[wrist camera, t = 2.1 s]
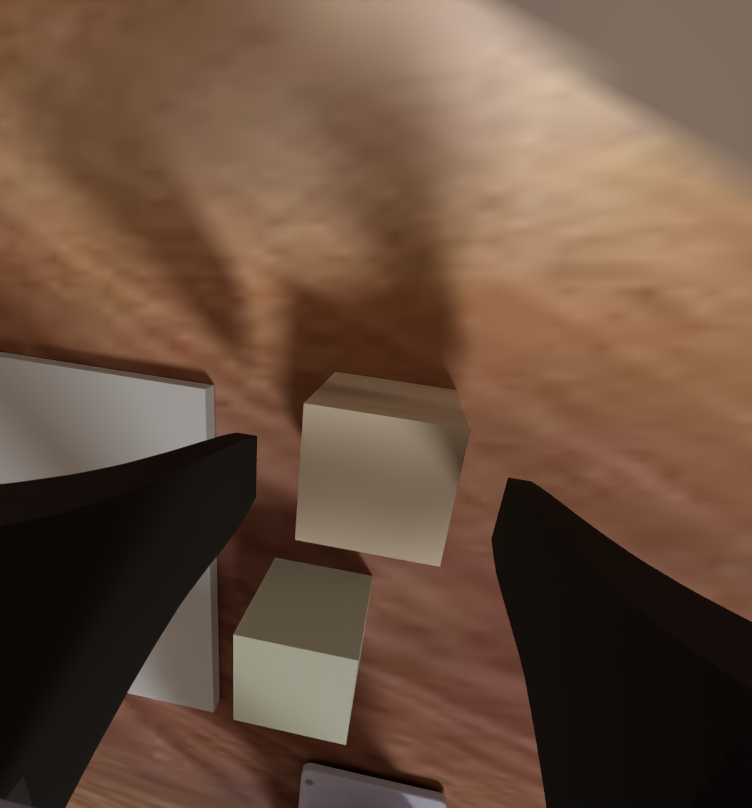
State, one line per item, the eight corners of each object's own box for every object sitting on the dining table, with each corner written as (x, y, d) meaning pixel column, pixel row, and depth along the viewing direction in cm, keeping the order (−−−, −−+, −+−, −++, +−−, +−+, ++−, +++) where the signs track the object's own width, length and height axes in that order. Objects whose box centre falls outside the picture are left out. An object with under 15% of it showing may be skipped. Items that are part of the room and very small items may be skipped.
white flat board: (219, 700, 20) (212, 714, 19) (19, 655, 21) (5, 667, 20) (213, 385, 14) (203, 390, 14) (-62, 341, 15) (-84, 344, 15)
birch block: (434, 495, 15) (439, 566, 11) (326, 476, 15) (295, 539, 11) (456, 389, 13) (470, 429, 10) (336, 371, 14) (303, 403, 10)
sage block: (362, 647, 18) (345, 745, 14) (272, 629, 18) (233, 719, 14) (373, 574, 16) (358, 660, 13) (276, 555, 17) (233, 634, 13)
